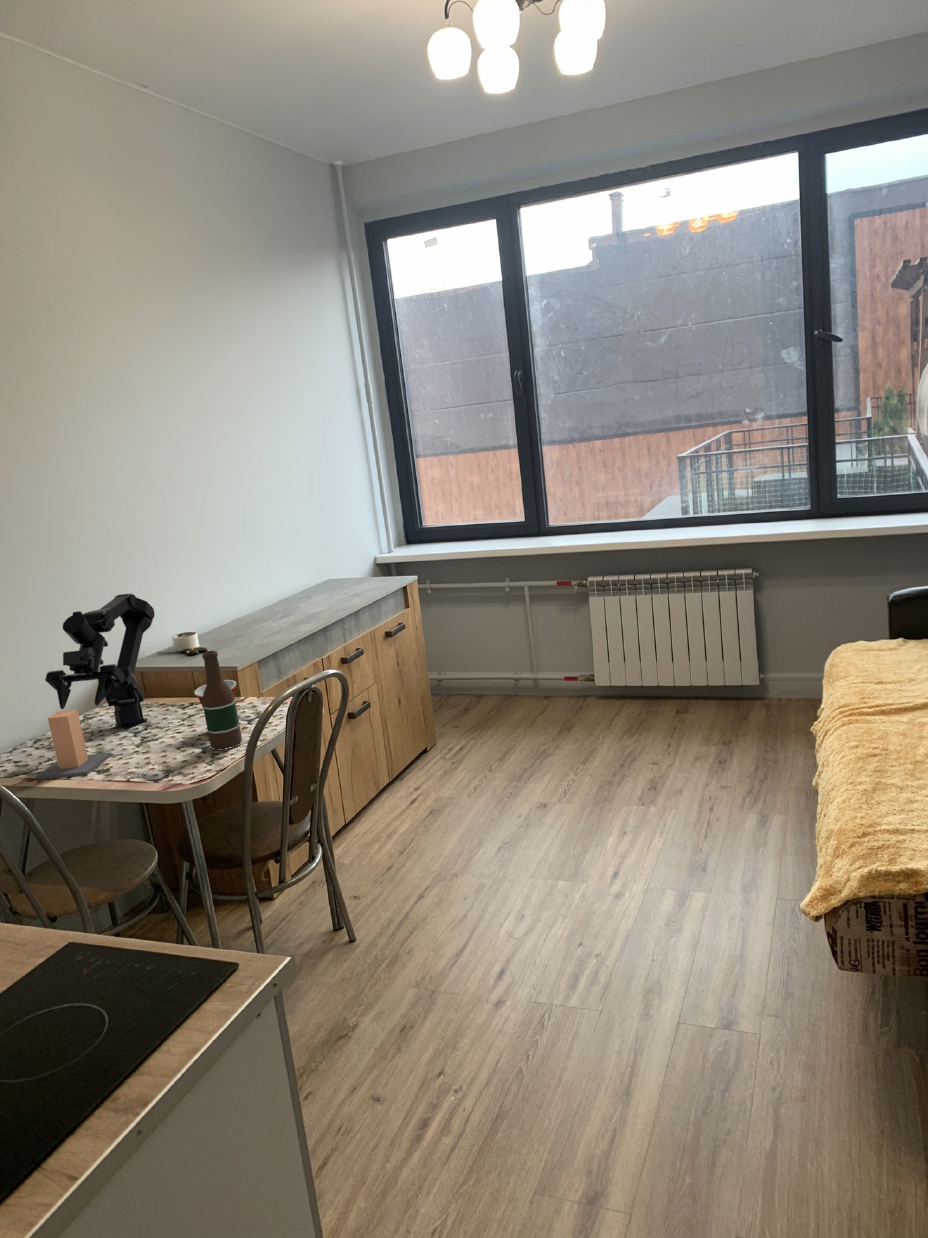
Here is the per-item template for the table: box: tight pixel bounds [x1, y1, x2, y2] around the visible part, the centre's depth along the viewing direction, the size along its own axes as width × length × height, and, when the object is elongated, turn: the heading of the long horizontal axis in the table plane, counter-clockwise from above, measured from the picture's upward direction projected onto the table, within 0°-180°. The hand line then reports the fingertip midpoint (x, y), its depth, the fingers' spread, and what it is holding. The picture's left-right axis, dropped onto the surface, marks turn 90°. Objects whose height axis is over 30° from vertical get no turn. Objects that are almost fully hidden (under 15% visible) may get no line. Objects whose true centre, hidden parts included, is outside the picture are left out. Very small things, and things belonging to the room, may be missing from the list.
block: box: [47, 709, 88, 769], centre depth 228 cm, size 5×5×13 cm
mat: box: [34, 752, 112, 781], centre depth 229 cm, size 13×13×1 cm
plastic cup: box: [194, 679, 237, 708], centre depth 243 cm, size 11×11×12 cm
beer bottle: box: [201, 650, 243, 750], centre depth 229 cm, size 8×8×24 cm
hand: (78, 706), depth 234 cm, fingers open, 9 cm apart
